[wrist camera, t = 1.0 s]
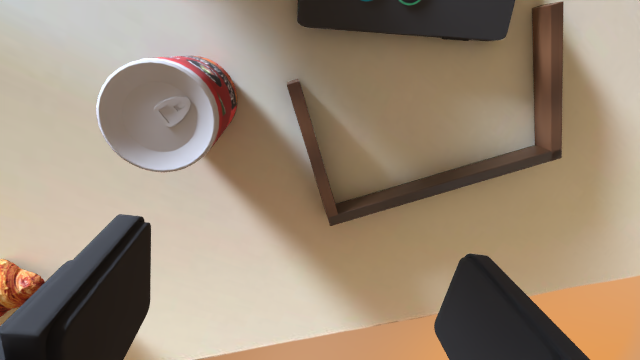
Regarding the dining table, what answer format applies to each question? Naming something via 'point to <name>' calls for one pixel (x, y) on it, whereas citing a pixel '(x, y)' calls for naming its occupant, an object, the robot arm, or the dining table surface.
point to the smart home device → (412, 17)
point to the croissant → (16, 285)
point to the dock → (544, 150)
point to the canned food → (165, 110)
